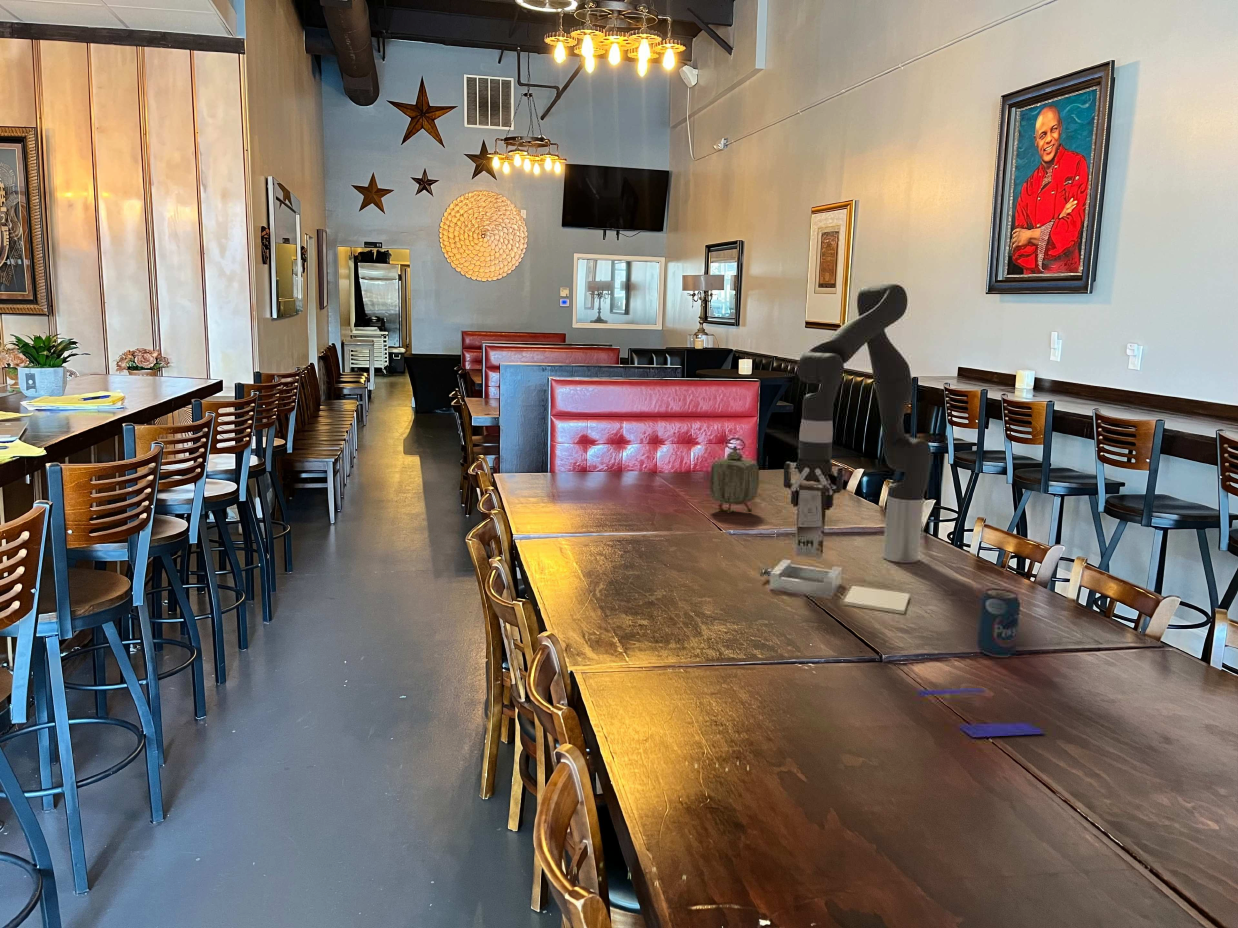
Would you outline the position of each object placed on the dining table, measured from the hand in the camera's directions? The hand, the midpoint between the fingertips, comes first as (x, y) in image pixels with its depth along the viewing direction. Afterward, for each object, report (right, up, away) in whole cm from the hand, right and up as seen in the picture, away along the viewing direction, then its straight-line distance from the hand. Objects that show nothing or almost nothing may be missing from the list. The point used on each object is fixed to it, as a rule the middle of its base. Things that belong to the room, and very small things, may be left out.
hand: (811, 507), depth 202 cm
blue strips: (+13, -30, -58) cm, 67 cm away
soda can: (+28, -27, -35) cm, 52 cm away
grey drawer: (-2, -19, +4) cm, 19 cm away
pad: (+14, -21, -6) cm, 26 cm away
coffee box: (0, -11, +2) cm, 11 cm away
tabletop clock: (-8, -6, +82) cm, 82 cm away
